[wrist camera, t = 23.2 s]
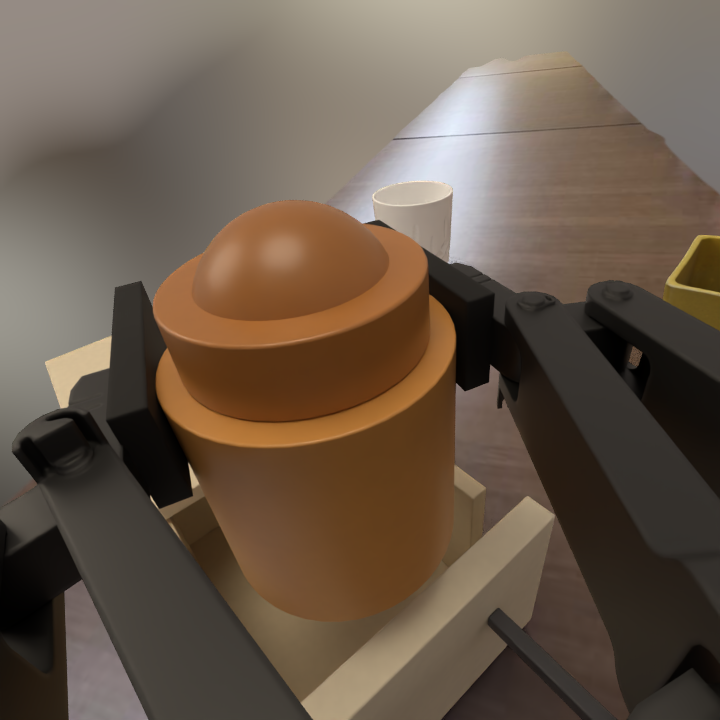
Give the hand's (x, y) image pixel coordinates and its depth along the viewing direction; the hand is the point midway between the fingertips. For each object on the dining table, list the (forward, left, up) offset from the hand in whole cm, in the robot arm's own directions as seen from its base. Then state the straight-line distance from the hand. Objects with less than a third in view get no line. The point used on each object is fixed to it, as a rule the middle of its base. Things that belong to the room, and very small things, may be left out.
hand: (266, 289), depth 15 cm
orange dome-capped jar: (-1, -5, -6) cm, 8 cm away
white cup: (+26, +21, -17) cm, 37 cm away
